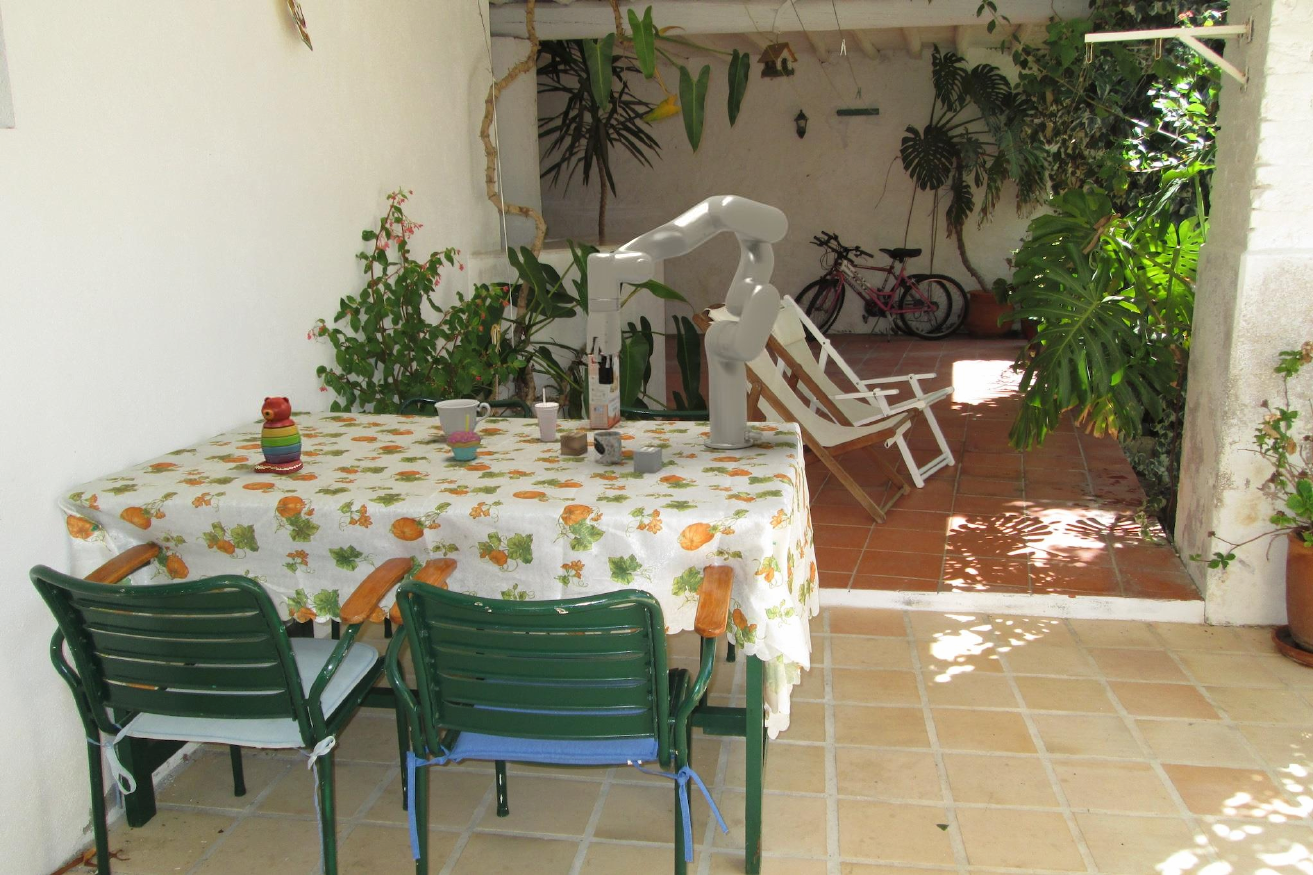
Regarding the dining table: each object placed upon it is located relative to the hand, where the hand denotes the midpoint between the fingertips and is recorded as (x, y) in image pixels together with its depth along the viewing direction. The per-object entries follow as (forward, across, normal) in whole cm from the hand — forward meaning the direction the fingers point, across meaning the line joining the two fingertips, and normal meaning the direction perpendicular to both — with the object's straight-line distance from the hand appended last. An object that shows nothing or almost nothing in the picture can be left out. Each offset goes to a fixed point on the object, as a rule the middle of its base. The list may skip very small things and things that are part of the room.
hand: (606, 383), depth 250 cm
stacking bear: (+20, +28, -74) cm, 82 cm away
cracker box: (+19, -42, -20) cm, 50 cm away
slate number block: (+19, +4, +12) cm, 23 cm away
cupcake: (+20, +6, -36) cm, 42 cm away
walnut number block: (+19, -7, -12) cm, 24 cm away
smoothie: (+19, -19, -26) cm, 38 cm away
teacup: (+20, -14, -50) cm, 55 cm away
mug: (+19, -1, 0) cm, 19 cm away
